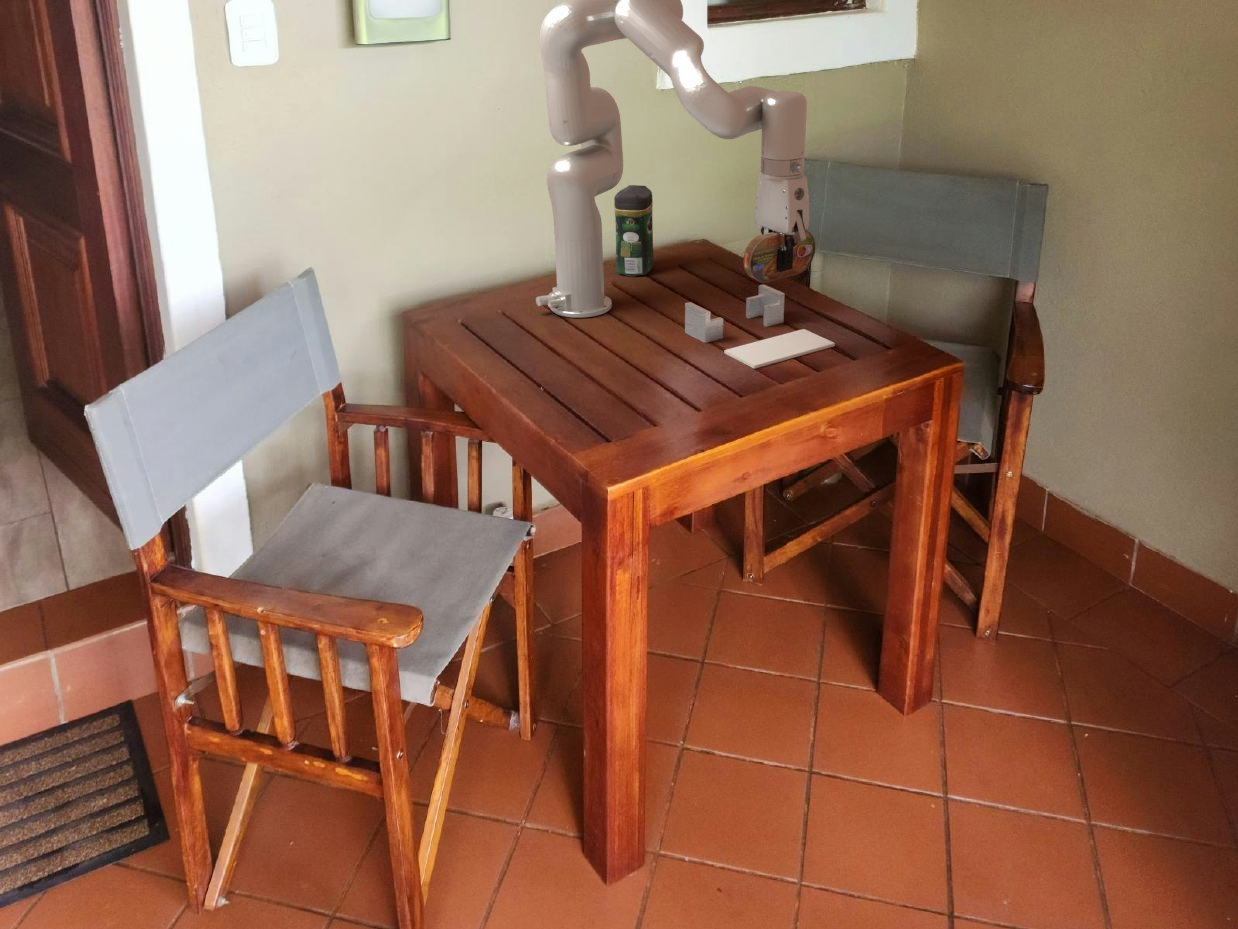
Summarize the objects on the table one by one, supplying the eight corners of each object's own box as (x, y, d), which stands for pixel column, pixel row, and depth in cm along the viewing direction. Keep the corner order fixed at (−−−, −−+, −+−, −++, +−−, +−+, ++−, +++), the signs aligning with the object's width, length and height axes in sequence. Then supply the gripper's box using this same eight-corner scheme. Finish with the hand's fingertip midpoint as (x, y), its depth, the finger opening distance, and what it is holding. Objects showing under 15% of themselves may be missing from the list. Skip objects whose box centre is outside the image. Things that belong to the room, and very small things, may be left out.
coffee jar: (622, 262, 267) (621, 181, 259) (656, 264, 265) (656, 183, 257) (611, 276, 259) (609, 192, 250) (646, 278, 257) (645, 194, 249)
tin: (749, 286, 210) (752, 241, 205) (739, 281, 212) (741, 236, 208) (814, 270, 217) (818, 226, 212) (803, 265, 219) (807, 221, 215)
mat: (754, 368, 211) (754, 365, 211) (724, 353, 218) (724, 350, 218) (834, 346, 220) (834, 343, 220) (803, 331, 227) (803, 328, 227)
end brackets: (783, 322, 232) (784, 293, 229) (704, 342, 223) (705, 313, 220) (762, 312, 237) (763, 284, 234) (685, 332, 228) (685, 303, 225)
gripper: (829, 171, 200) (824, 275, 209) (769, 154, 213) (766, 253, 221) (795, 178, 197) (791, 283, 205) (736, 160, 209) (734, 260, 218)
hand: (778, 266), depth 213 cm, fingers closed on tin, 2 cm apart
